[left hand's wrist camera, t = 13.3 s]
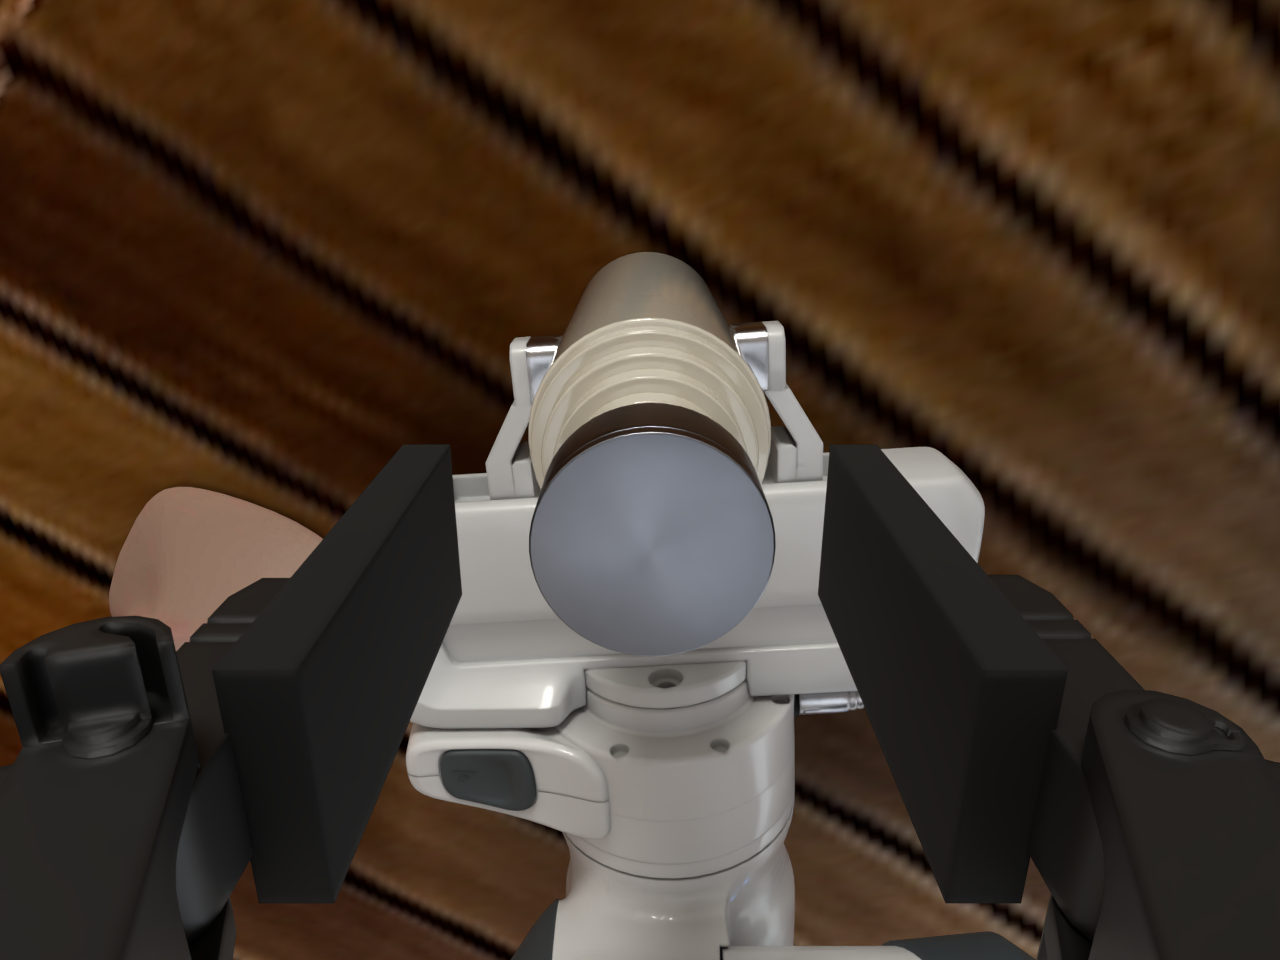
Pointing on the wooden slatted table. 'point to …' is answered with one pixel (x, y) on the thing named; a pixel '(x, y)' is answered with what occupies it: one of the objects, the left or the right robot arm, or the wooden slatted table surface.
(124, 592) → the anatomical model
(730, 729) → the right robot arm
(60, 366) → the wooden slatted table surface
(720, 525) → the cap
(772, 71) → the wooden slatted table surface
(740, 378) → the bottle
